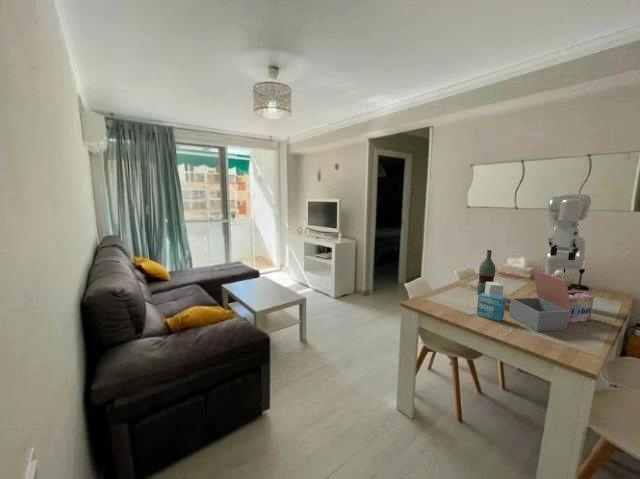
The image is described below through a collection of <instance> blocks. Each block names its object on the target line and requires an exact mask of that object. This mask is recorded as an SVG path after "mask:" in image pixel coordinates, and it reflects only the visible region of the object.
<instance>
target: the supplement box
mask: <svg viewBox="0 0 640 479" xmlns="http://www.w3.org/2000/svg"><path fill="white" fill-rule="evenodd" d="M485 294H489V295H494V296H498V297H503V294H504V285H502V284H501V283H500V282H498V281H496V282H495V281H493V282H486V285H485Z"/></svg>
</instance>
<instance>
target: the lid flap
mask: <svg viewBox="0 0 640 479" xmlns="http://www.w3.org/2000/svg"><path fill="white" fill-rule="evenodd" d="M532 272H533V278H534V282H535V283H534V284H535V290H536V295H537V296H536V297H537V298H540V299H543V300H545V301H547V302H550V303H552V304H554V305H557V306H559V307H561V308H563V309H566V310H568V311H571V306H570V299H569V288H568V287H569V286H568V282H567V280H566V279H560V278H562V277H564V275H566V274H565V272H564V270H562V269H561V270H556V271H555V273H554V274H553V275H548V274H545V272H542V271H539V270H536V269H533V270H532ZM557 277H558V278H557Z"/></svg>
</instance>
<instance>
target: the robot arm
mask: <svg viewBox="0 0 640 479" xmlns="http://www.w3.org/2000/svg"><path fill="white" fill-rule="evenodd" d="M591 203H592V199H591V197H590V195H588V194H585V193H584V194H583V193H566V194H565V193H564V194H562V195H560V196H552V197H550V198H549V200H548V202H547V211H548V218H549V222H550V226H551V236H550V237H549V238H547V242H548V245H549V247H550V251H549V252H547V253H546V254H545V256H544V257H545V258H544V260H545V268H544V270H545V271H544V273H545V274H548V275H553V274H554V273H555V271H556V270H562V269H565V270H573V271H580V270H582V269H583V267H584V261H585V252H586V251H585V250H586V241H585V238H584V237H581V236H580V231H579V230H580V229H579V227H578V226H580V223H579V221H580V222H582V221H584V220H585V219H586V218H587V217H588V213H589V211H590V209H591V208H590V207H591V205H592V204H591ZM565 275H566V274H565ZM565 275H564V277H562V278H560V279H564V280H566V279H565V278H566V277H565ZM557 278H558V277H557ZM542 300H543V299H542Z"/></svg>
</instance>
